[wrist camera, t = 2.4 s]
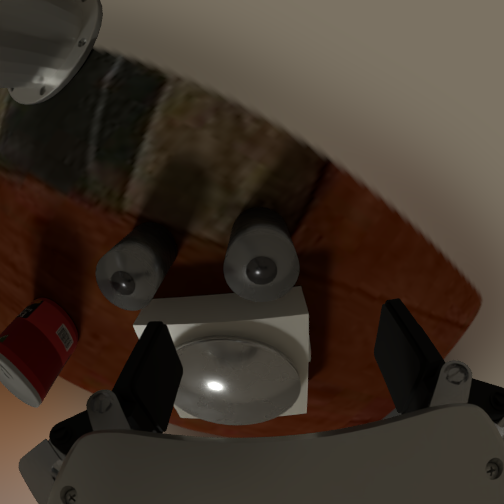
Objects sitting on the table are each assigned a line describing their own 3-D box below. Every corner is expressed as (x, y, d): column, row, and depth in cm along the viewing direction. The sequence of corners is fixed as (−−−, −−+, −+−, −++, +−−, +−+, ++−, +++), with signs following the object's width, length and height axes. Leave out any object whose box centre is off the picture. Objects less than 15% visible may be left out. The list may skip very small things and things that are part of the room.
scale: (147, 299, 24) (131, 328, 20) (305, 285, 23) (314, 316, 19) (186, 391, 29) (180, 420, 25) (305, 385, 28) (310, 415, 24)
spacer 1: (123, 226, 21) (86, 256, 15) (170, 218, 21) (142, 248, 15) (137, 272, 23) (108, 311, 17) (182, 268, 22) (161, 310, 17)
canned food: (38, 283, 24) (-18, 339, 14) (87, 327, 26) (42, 396, 16) (30, 317, 26) (-14, 369, 16) (72, 355, 28) (37, 414, 18)
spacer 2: (227, 210, 20) (217, 239, 15) (285, 204, 20) (297, 230, 15) (236, 263, 22) (229, 306, 17) (289, 257, 22) (301, 298, 16)
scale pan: (142, 337, 20) (139, 343, 19) (299, 327, 19) (300, 334, 18) (184, 418, 25) (183, 423, 24) (299, 414, 24) (300, 420, 23)
